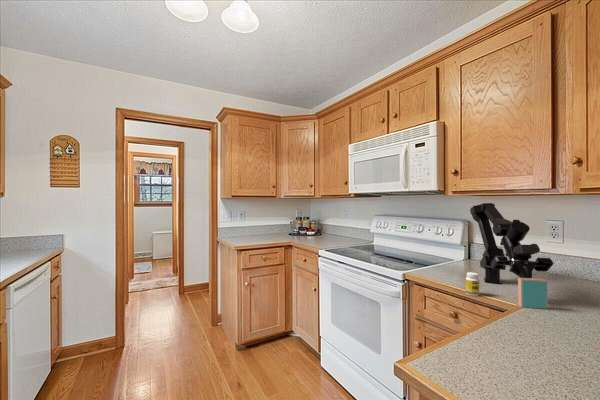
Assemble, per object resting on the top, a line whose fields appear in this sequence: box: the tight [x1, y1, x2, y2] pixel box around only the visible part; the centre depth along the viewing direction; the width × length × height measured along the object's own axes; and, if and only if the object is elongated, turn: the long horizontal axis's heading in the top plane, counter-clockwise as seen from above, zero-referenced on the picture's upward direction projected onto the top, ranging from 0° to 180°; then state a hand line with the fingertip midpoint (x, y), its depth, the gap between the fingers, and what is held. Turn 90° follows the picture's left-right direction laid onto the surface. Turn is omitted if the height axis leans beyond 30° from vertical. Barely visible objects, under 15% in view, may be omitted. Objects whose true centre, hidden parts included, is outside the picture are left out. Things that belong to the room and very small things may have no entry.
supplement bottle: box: [465, 271, 480, 297], centre depth 112 cm, size 5×5×8 cm
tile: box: [517, 277, 548, 310], centre depth 98 cm, size 2×8×10 cm, turn 77°
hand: (530, 283), depth 100 cm, fingers closed
